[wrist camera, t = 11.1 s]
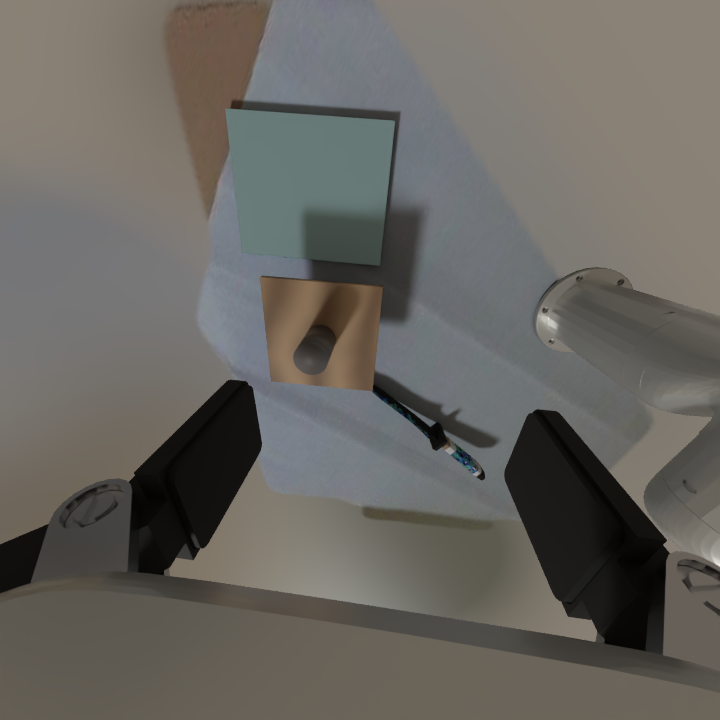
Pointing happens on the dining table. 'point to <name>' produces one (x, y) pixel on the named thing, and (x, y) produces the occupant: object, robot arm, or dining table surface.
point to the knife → (434, 435)
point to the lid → (321, 331)
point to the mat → (310, 184)
